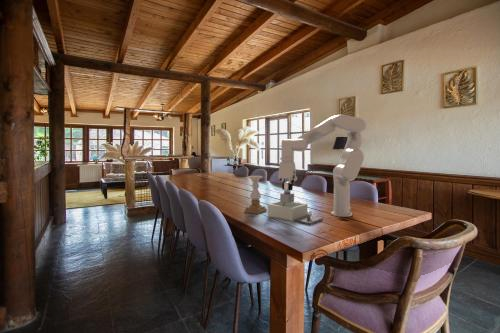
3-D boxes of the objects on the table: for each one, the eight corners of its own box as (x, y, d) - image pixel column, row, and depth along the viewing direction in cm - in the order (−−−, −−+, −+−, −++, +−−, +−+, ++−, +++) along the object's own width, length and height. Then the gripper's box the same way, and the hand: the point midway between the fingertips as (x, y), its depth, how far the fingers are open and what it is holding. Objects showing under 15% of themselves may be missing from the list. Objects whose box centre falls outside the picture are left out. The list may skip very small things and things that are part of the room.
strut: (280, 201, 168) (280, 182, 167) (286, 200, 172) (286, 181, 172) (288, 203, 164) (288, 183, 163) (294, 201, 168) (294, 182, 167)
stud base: (307, 217, 167) (307, 207, 167) (322, 220, 160) (322, 209, 160) (294, 222, 157) (294, 211, 157) (309, 225, 150) (309, 214, 150)
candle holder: (253, 209, 191) (253, 175, 189) (266, 211, 185) (266, 175, 183) (244, 212, 182) (243, 176, 180) (257, 214, 176) (257, 177, 174)
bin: (283, 212, 181) (283, 200, 180) (307, 216, 168) (307, 204, 168) (268, 216, 169) (267, 204, 169) (292, 222, 157) (292, 208, 156)
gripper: (272, 159, 170) (272, 189, 171) (295, 160, 158) (295, 192, 159) (280, 159, 175) (280, 187, 176) (302, 160, 163) (302, 190, 165)
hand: (287, 189), depth 168 cm, fingers closed on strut, 4 cm apart
